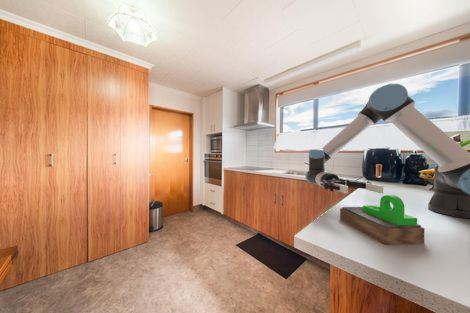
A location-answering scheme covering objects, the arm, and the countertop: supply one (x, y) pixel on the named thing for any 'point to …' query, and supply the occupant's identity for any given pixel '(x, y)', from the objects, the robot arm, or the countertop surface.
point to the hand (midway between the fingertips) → (365, 190)
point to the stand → (381, 227)
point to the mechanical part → (391, 211)
